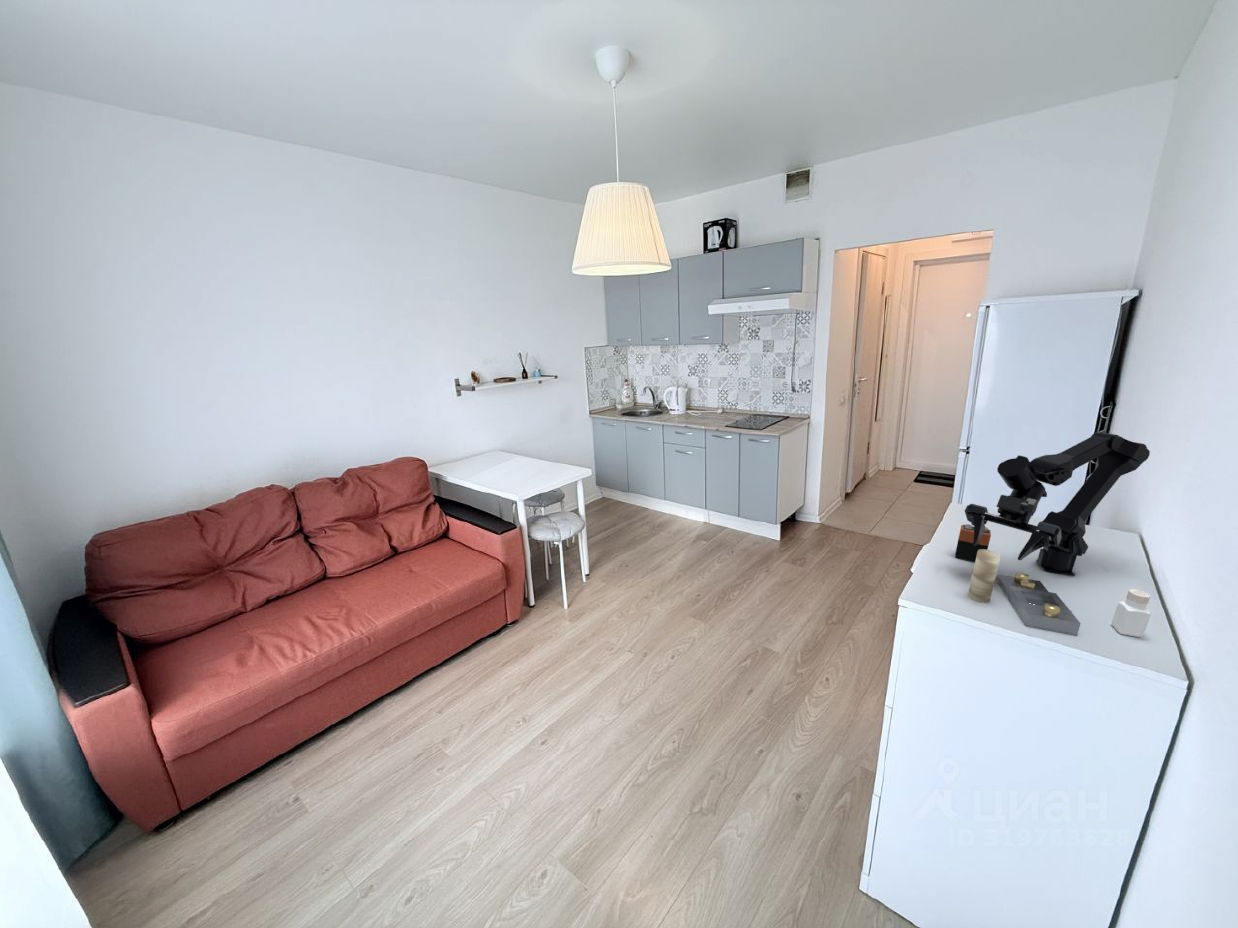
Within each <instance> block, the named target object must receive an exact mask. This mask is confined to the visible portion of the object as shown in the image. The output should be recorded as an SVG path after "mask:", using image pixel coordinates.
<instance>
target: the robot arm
mask: <svg viewBox="0 0 1238 928" xmlns="http://www.w3.org/2000/svg"><path fill="white" fill-rule="evenodd" d="M1150 453H1151V451H1150V450H1149V449H1148V447H1147V445H1146V444H1145V443H1140V442H1136V441H1131V440H1129V439H1127V438H1124V437H1123V436H1120V435H1119V434H1114V433H1109V432H1102V431H1099V432H1098V431H1097V432H1094V433H1092V435H1091V436H1090V437H1087V438H1086V439H1084V440H1082V441H1080V442H1078V443H1077V444H1075V445H1073V446H1071V447H1069V448H1067V449H1065V450H1063V451H1061V452H1059V453H1056V454H1055V453H1054V454H1044V455H1041V456H1038V457H1035V458H1034V459H1032V460H1030V459H1029V458H1028V457H1027V456H1024V455H1020V454H1019V455H1017V456H1016V457H1015V458H1009V459H1006V460H1005V461H1001V462H1000V463H999V464H998V467H997V473H998V474H999V476H1000V477H1001V479H1002V480H1003V481H1004V483H1005V484H1006V486H1007V487H1008V488H1010V489H1011V490H1012V491H1011V493H1010V494H1009V495H1005V494H1000V496H999V498H998V502H997V505H996V508H997V509H996V510H997V513H998V514H999V515H997V514H993V513H990V512H989V511H988V507H986V506H983V505H978V504H975V503H970V504H968V505H966V507H965V509H964V514H965V517H966V520H967V521H968V522H969V523H970V525H972V526H973V527H974V539H973V545H974V546H976V545H977V543H978V542H979V540H980V538H981V536H982V534H983V532H984V530H985V527H986V524H987V523H988V522H991V523H995V524H999V525H1001V526H1006V527H1009V528H1012V529H1015V530H1018V531H1019V530H1020V531H1023V532H1027V533H1030V537H1029V539H1028V541H1026V543H1025V545H1024V547H1023V548H1022V549H1021V550H1020V552H1019V554H1018V557H1017V560H1018V561H1022V560H1023V559H1025V558H1026V557H1028V556H1029V555H1030V554H1032V553H1034V552H1035V551H1037V550H1039V553H1038V556H1037V559H1036V563H1037V564H1038V566H1040V568H1041V569H1042V570H1043V571H1044V572H1049V573H1054V574H1060V575H1067V576H1068V575H1069V576H1074V577H1075V576H1076V573H1075V571H1073V570H1074V567H1075V564H1076V561H1077V557H1082V556H1083V555H1085V554H1086V553H1087V550H1088V549H1089V545H1088V543H1086V540H1085V539H1084V536H1085V534H1086V533H1087V531H1086V520H1087V519H1088V518H1089V516H1090V515H1091V514H1092V513H1093V511H1095V509H1096V508H1097V507H1098V506H1099V504H1100V503H1101V502H1102V500H1103V499H1104V497H1105V496H1107V494H1108V493H1109V492H1110V490H1111V489H1112V488H1113V486H1115V484H1116V483H1117V481H1118V480H1119V479H1120V477H1121V476H1124V475H1126V474H1128V473H1129V474H1130V473H1132V472H1133V471H1136V470H1137V469H1139V467H1140V466H1142V464H1143V463H1145V461H1147V460H1148V459H1149V457H1150ZM1094 459H1097V465H1096V468H1095V469H1094V470H1093V472H1092V473H1091V474H1090V475H1089V477H1088V478H1087V479H1086V481H1084V483H1083V484H1082V486H1081V487H1080V488H1079V489H1078V490H1077V492H1076V493H1075V495H1074V496H1073V497H1072V499H1071V500H1069V502H1068V503H1067V504H1066V505H1065V507H1064V508H1063V509H1062V510H1060V511H1058V512H1055V511H1050V512H1048V514H1047V515H1046V516H1045V518H1044V519H1043V520H1042V521H1039V522H1038V524H1037V525H1036V524H1035V525H1034V524H1031V523H1029V522H1030V520H1031V518H1032V517H1033V516H1034V514H1035V513H1036V512H1037V509H1038V505H1039V502H1040V500H1041V499H1042V498H1047V497H1048V492H1047V490H1046V488H1045V486H1044V484H1048V485H1049V486H1050V485H1051V486H1054V487H1057V486H1061V485H1062V484H1063V483H1065V482H1067V481H1068V480H1069V479H1071V478H1072V476H1073V474H1074V473H1073V472H1074V471H1075V470H1077V469H1078V468H1079V467H1081V466H1083V465H1085V464H1087V463H1090V462H1091V461H1093V460H1094Z"/></svg>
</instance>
